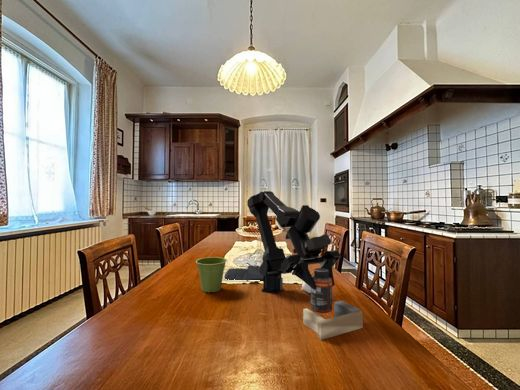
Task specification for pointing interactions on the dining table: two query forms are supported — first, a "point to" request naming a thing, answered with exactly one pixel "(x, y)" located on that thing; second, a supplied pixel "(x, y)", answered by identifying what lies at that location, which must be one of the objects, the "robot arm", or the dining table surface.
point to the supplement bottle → (322, 291)
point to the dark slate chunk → (244, 274)
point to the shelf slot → (334, 320)
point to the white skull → (306, 287)
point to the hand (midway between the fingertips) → (324, 287)
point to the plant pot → (211, 273)
